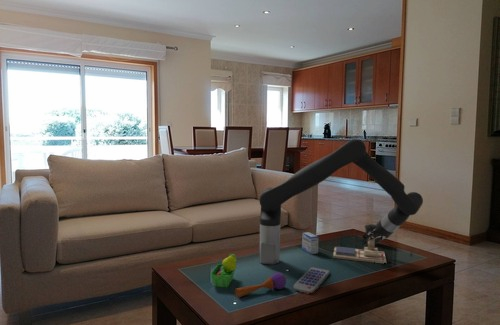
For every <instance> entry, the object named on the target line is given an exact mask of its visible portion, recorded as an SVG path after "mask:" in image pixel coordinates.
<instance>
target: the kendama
mask: <svg viewBox="0 0 500 325" xmlns="http://www.w3.org/2000/svg"><path fill="white" fill-rule="evenodd" d="M286 285H287V279H286V276H285V275H284V274H283V273H281V272H275V273H272V275H271V277H267V278H266V280H265V281H263V283H261V284H260V283H259V284H255V285H249V286H243V287H238V288H235V290H234V293H235V296H236V297H237V298H238V299H240V298H241V297H244V296H247V295H248V294H251V293H253V292H256V291H258V290H260V289H262V288H265V289H271V290H273V289H275V290H282V289H283V288H285V286H286Z"/></svg>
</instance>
